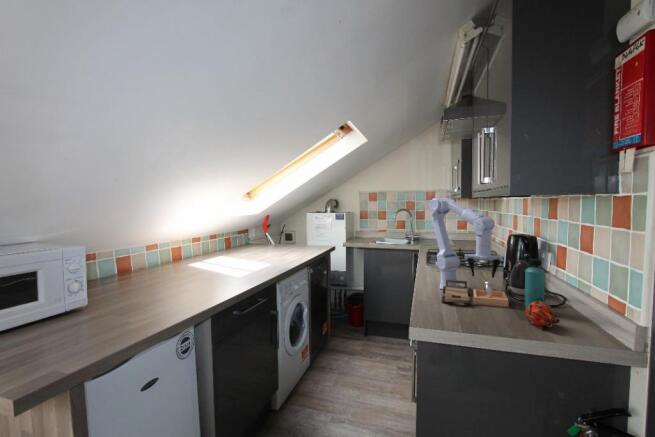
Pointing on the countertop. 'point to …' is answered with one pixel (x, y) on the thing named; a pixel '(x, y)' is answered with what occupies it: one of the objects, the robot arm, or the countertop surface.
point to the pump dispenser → (518, 277)
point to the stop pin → (489, 289)
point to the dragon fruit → (541, 315)
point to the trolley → (456, 293)
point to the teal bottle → (534, 283)
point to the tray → (497, 298)
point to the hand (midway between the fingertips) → (482, 276)
